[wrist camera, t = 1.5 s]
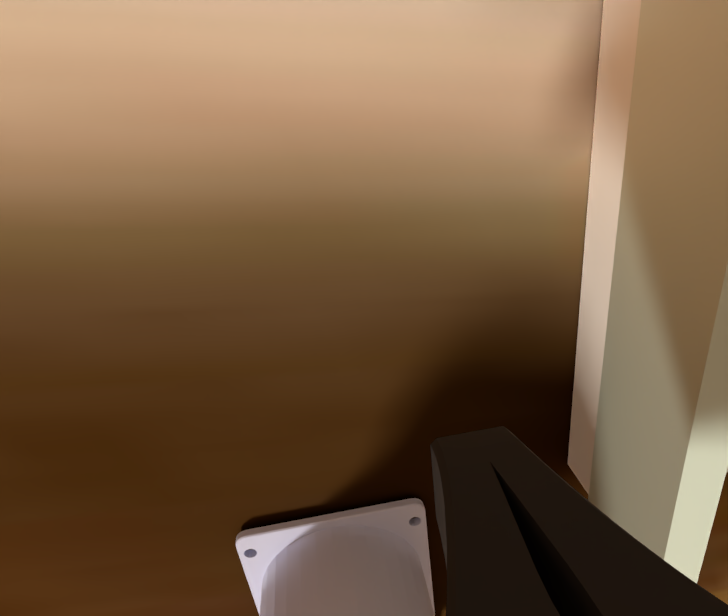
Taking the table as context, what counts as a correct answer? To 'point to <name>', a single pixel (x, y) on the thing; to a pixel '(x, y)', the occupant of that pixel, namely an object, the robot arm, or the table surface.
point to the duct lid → (669, 292)
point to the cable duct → (602, 222)
